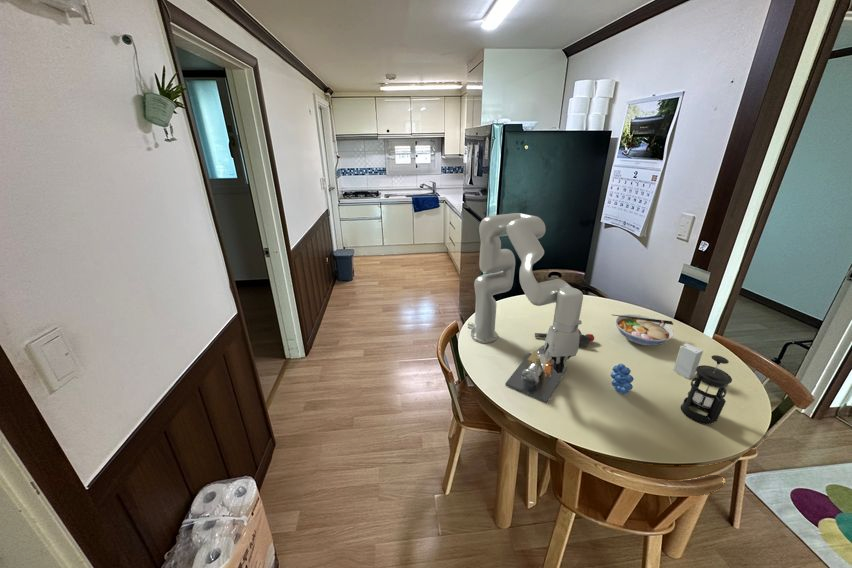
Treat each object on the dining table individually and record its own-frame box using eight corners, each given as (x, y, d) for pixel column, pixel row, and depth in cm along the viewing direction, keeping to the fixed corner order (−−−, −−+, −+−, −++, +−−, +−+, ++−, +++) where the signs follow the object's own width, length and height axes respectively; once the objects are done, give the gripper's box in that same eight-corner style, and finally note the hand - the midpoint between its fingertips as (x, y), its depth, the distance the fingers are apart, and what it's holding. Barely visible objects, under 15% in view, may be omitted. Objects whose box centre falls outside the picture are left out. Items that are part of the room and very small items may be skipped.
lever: (535, 353, 129) (537, 342, 127) (543, 353, 129) (544, 342, 127) (543, 378, 116) (545, 366, 114) (552, 378, 115) (554, 366, 113)
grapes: (638, 403, 118) (647, 376, 113) (619, 403, 118) (626, 376, 113) (622, 381, 128) (629, 355, 124) (604, 381, 129) (610, 355, 124)
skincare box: (694, 376, 130) (704, 350, 125) (688, 379, 129) (698, 353, 124) (678, 367, 136) (687, 342, 131) (671, 370, 134) (680, 345, 129)
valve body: (505, 385, 127) (507, 364, 123) (528, 354, 145) (531, 335, 141) (546, 403, 118) (550, 381, 114) (566, 368, 136) (570, 348, 132)
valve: (588, 335, 162) (596, 349, 147) (532, 332, 167) (535, 345, 153) (589, 323, 160) (598, 336, 146) (533, 321, 166) (536, 332, 151)
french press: (673, 401, 118) (693, 347, 109) (700, 402, 118) (723, 348, 108) (695, 428, 108) (719, 371, 98) (725, 429, 107) (753, 372, 98)
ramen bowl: (611, 347, 149) (615, 332, 145) (607, 323, 168) (610, 309, 165) (678, 360, 140) (684, 343, 136) (665, 332, 159) (670, 317, 156)
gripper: (580, 317, 112) (572, 362, 119) (538, 320, 111) (532, 365, 118) (593, 328, 105) (584, 375, 113) (548, 332, 104) (542, 379, 111)
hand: (557, 370), depth 115 cm, fingers closed
